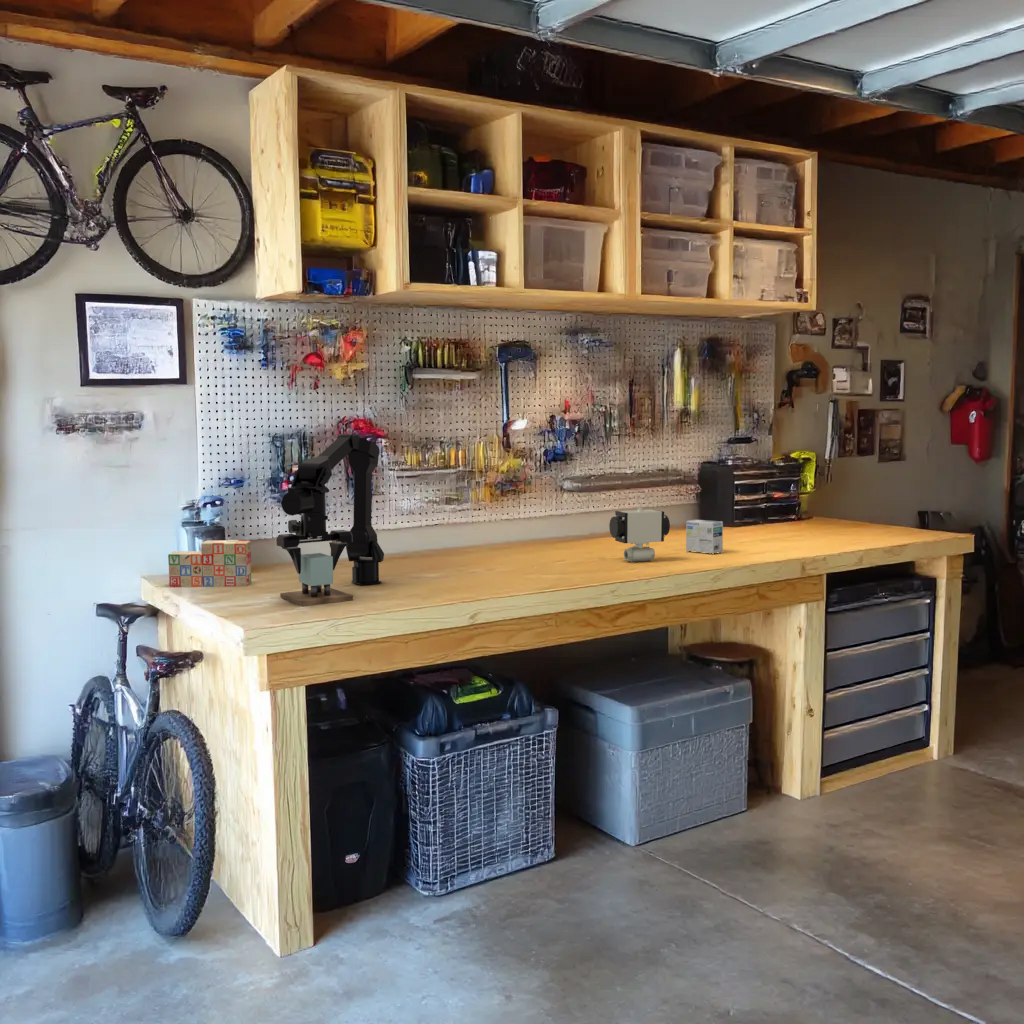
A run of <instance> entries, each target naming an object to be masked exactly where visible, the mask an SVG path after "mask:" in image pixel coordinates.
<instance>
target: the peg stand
mask: <svg viewBox="0 0 1024 1024" xmlns="http://www.w3.org/2000/svg"><path fill="white" fill-rule="evenodd" d="M322 586H323V587H322ZM301 588H302V589H301V590H296V591H288V592H287V591H286V592H280V593H279V594H280V595H279V597H280V599H282V600H285V601H287V602H290V603H292V604H294V605H297V606H300V607H306V606H315V605H323V604H333V603H340V602H349V601H354V595H353V594H350V593H348V592H344V591H342V590H339V589H336V588H334V587H331V584H326V585H317V586H310V587H309V585H307V584H304V583H301ZM309 588H310V589H309Z"/></svg>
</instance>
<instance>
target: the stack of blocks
mask: <svg viewBox="0 0 1024 1024" xmlns="http://www.w3.org/2000/svg"><path fill="white" fill-rule="evenodd" d="M251 545H252V544H251V540H239V539H228V540H227V539H226V540H225V539H224V540H222V539H221V540H214V539H213V540H212V539H211V540H205V541H203V542H202V543H200V547H201V550H197V551H196V550H188V551H187V550H186V551H185V550H183V551H182V550H178V551H172V552H171V553H168V554H167V557H168V558H167V560H168V578H169V580H168V584H169V585H168V586H169V587H170V588H173V587H174V588H176V587H177V588H178V587H180V588H191V587H192V588H196V587H197V588H207V587H209V588H211V587H213V588H215V587H217V588H218V587H219V588H220V587H222V588H223V587H227V588H228V587H248V586H249V585H250V584H251V583H252V551H251Z"/></svg>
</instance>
